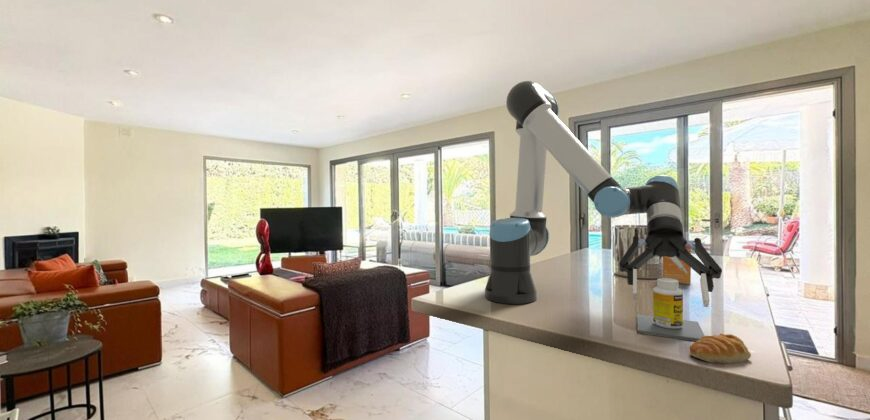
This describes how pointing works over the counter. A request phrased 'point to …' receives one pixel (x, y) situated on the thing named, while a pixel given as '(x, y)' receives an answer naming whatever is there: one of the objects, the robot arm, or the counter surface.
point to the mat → (686, 332)
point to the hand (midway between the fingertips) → (669, 300)
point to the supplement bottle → (668, 304)
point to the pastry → (720, 349)
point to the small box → (677, 269)
